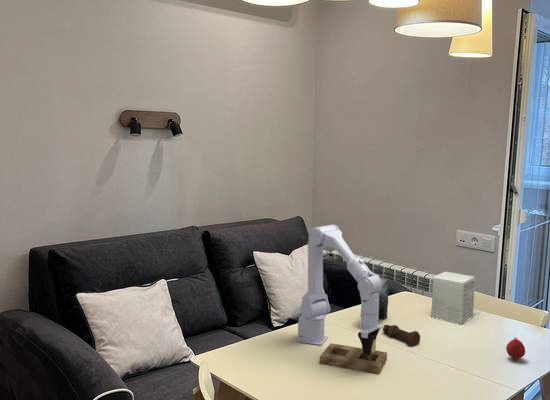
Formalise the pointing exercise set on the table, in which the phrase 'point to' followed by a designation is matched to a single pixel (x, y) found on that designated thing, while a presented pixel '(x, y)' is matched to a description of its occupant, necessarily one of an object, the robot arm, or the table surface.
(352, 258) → the robot arm
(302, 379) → the table surface
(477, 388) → the table surface
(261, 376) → the table surface
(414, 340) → the bolt
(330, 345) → the frame
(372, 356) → the brass peg
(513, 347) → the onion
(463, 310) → the supplement box
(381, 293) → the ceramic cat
